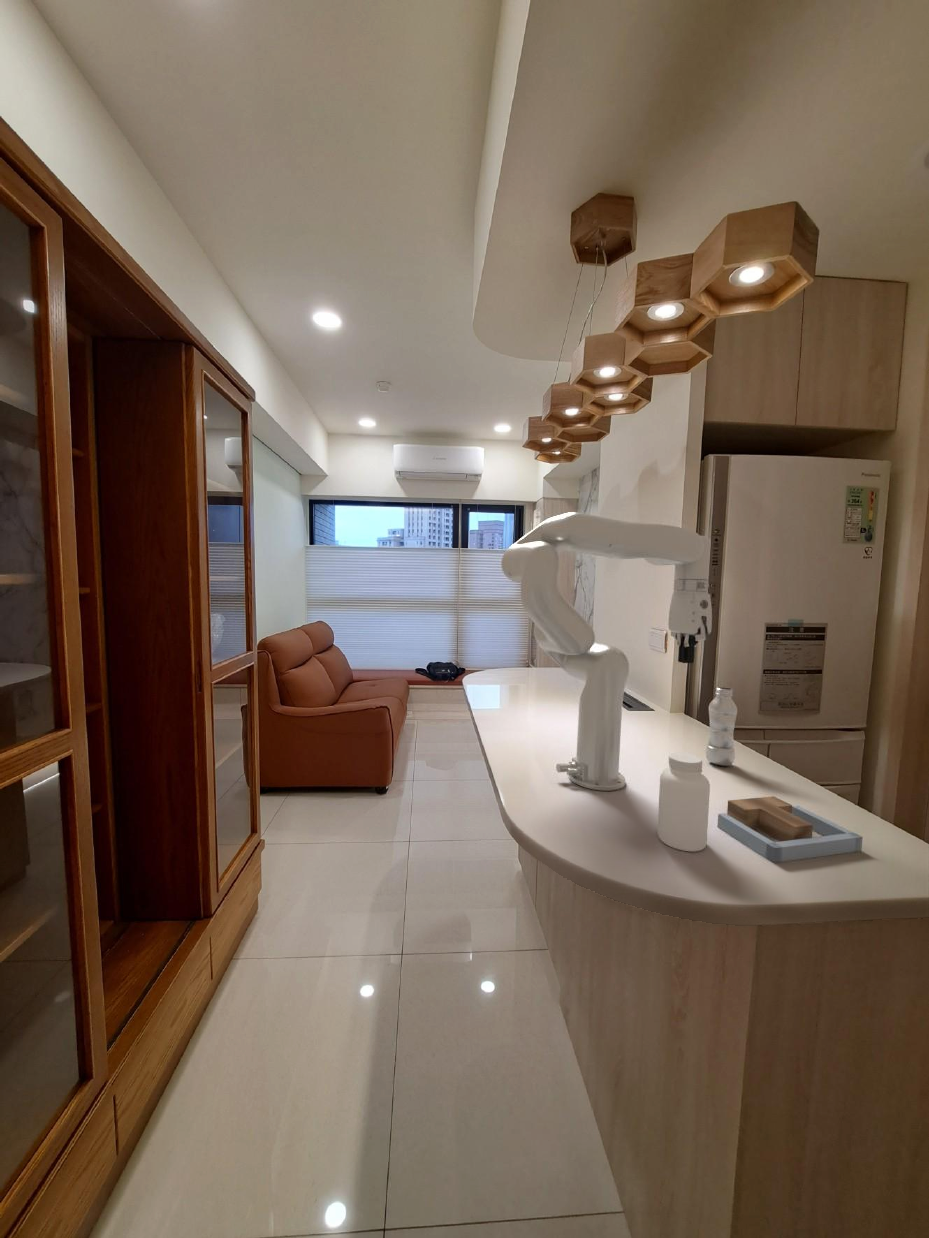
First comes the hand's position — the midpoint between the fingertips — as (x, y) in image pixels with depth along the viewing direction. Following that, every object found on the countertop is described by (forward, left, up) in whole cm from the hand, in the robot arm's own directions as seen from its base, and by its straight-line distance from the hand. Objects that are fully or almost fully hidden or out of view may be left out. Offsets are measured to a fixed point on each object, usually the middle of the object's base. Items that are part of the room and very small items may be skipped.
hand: (685, 662), depth 115 cm
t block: (-3, -30, -27) cm, 40 cm away
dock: (-3, -32, -27) cm, 42 cm away
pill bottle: (-23, -29, -27) cm, 46 cm away
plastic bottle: (+14, +2, -27) cm, 31 cm away
